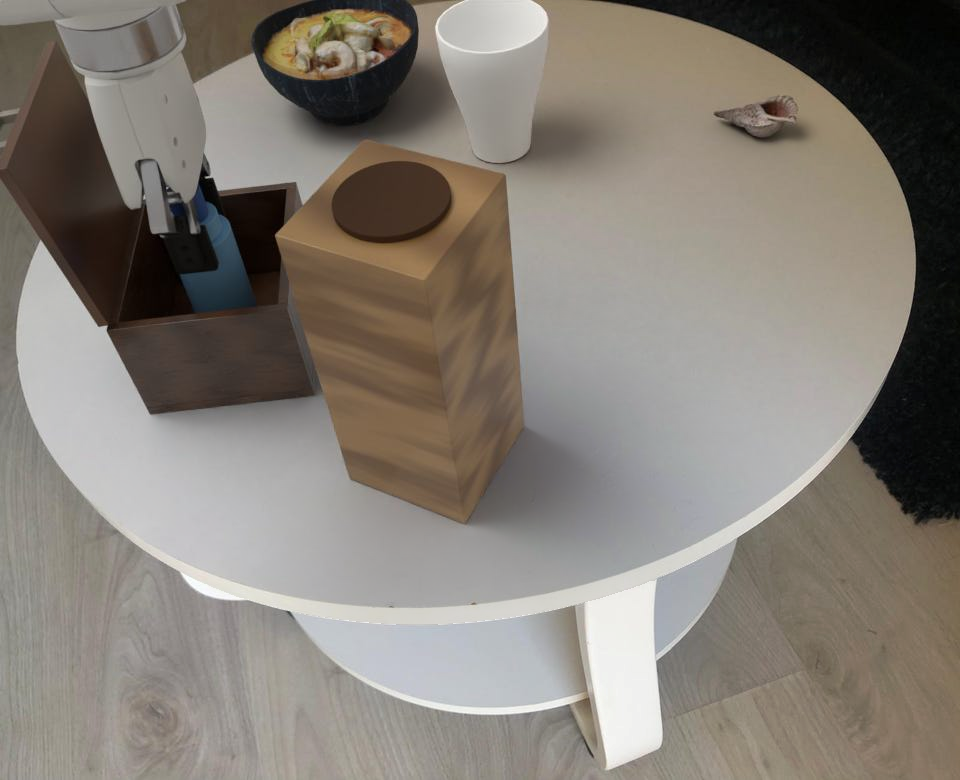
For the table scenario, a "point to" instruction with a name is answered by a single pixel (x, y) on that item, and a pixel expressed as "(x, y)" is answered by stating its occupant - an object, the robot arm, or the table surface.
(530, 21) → the cup
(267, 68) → the bowl
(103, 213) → the wooden box lid
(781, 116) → the seashell
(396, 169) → the coaster
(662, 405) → the table surface
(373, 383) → the stand
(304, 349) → the brown wooden box
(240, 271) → the bottle
